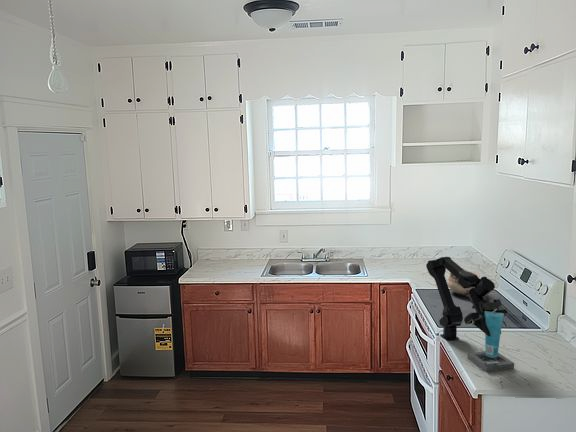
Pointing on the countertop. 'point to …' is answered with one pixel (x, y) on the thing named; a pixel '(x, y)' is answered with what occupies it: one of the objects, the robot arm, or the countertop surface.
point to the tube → (493, 333)
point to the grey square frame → (503, 365)
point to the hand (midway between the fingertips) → (495, 335)
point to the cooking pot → (457, 284)
